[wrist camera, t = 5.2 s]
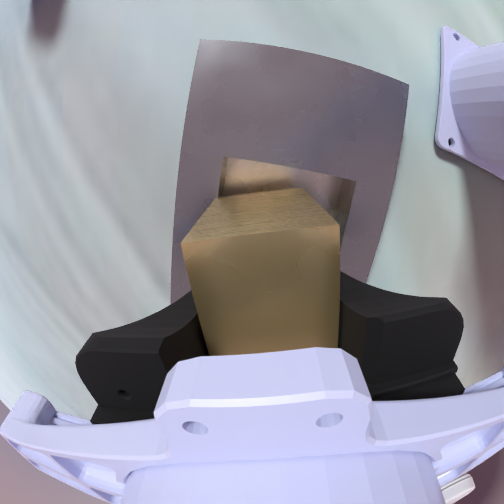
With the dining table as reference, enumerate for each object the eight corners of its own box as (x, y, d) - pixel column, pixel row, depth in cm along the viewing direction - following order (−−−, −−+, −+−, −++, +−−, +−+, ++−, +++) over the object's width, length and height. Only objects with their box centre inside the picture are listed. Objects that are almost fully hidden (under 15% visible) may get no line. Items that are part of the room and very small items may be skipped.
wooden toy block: (301, 187, 11) (339, 224, 6) (310, 344, 14) (328, 431, 9) (215, 197, 11) (180, 243, 6) (243, 351, 14) (237, 440, 9)
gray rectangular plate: (389, 91, 11) (409, 84, 9) (304, 394, 18) (307, 416, 16) (208, 54, 11) (200, 39, 9) (179, 378, 18) (173, 400, 16)
